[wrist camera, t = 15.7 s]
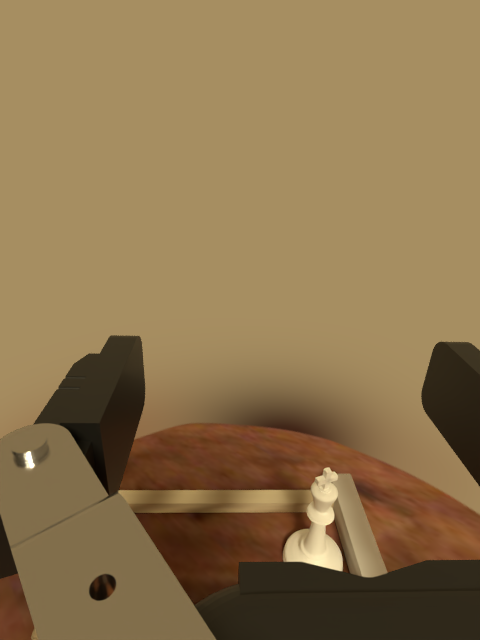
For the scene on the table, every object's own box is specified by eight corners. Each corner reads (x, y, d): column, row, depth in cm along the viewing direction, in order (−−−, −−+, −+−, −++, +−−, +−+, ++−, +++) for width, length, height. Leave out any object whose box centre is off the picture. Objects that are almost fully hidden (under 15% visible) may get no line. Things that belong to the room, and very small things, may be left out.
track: (29, 660, 26) (21, 639, 25) (92, 493, 38) (88, 473, 37) (401, 653, 27) (409, 632, 26) (346, 492, 39) (350, 473, 38)
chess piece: (272, 543, 34) (282, 455, 30) (321, 526, 36) (336, 440, 32) (301, 600, 30) (317, 507, 26) (354, 577, 32) (377, 486, 28)
